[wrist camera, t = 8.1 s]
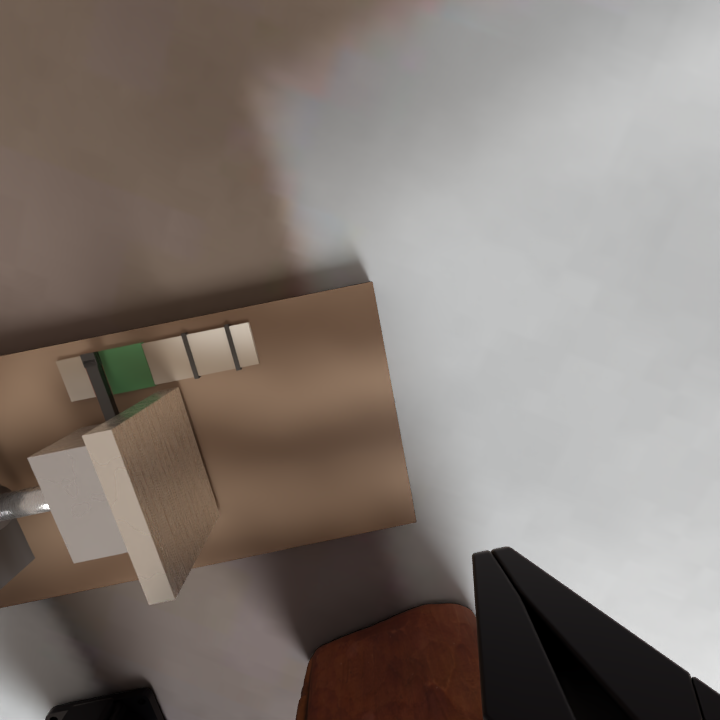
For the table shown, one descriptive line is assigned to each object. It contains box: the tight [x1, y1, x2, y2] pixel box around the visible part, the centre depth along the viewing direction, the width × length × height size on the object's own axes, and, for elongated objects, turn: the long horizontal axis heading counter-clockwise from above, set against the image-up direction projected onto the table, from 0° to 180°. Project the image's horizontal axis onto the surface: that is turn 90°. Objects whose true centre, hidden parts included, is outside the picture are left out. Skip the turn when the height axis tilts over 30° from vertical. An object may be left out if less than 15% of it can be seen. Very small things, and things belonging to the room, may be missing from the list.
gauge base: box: [0, 282, 416, 608], centre depth 16 cm, size 13×24×6 cm, turn 101°
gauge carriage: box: [0, 351, 220, 605], centre depth 15 cm, size 9×9×5 cm
